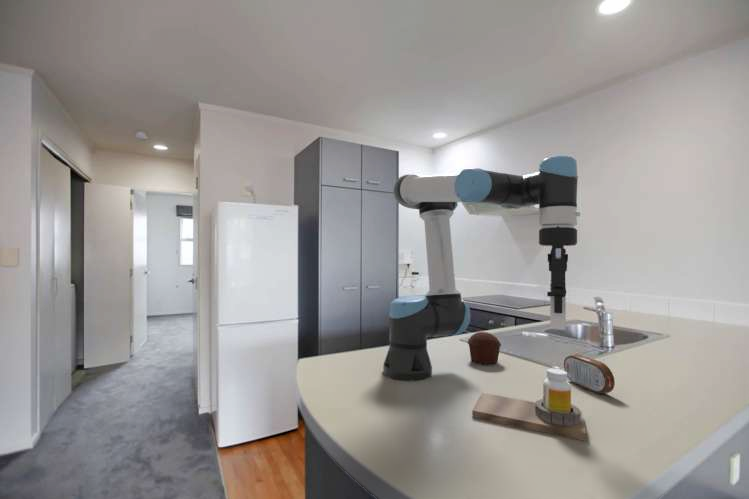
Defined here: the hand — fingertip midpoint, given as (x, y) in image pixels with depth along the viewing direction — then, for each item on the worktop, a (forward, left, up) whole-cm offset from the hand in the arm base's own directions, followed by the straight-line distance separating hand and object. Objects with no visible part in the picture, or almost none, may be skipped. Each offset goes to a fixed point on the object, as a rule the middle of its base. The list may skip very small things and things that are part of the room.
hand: (557, 324), depth 77 cm
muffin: (-22, +41, -22) cm, 51 cm away
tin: (+8, +29, -22) cm, 37 cm away
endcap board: (-6, 0, -22) cm, 22 cm away
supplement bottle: (0, 0, -20) cm, 20 cm away
